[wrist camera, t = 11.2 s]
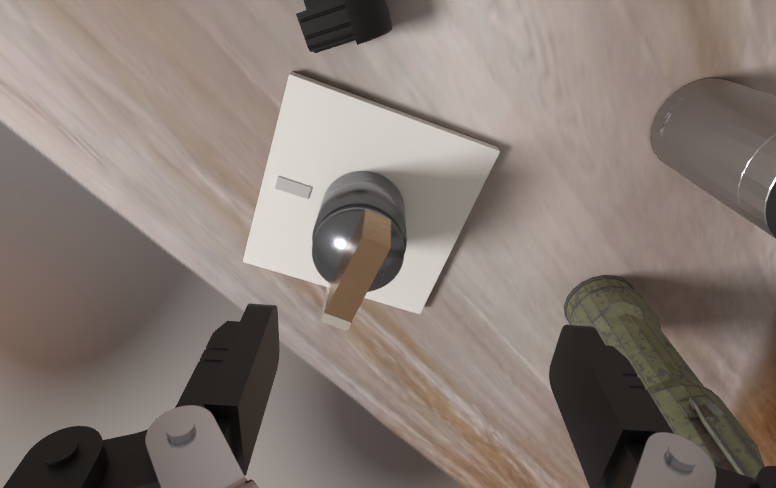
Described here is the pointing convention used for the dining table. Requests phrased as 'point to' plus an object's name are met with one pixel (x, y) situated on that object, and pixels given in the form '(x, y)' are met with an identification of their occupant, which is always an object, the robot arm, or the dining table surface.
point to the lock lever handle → (355, 258)
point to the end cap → (343, 22)
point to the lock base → (372, 147)
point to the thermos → (663, 371)
